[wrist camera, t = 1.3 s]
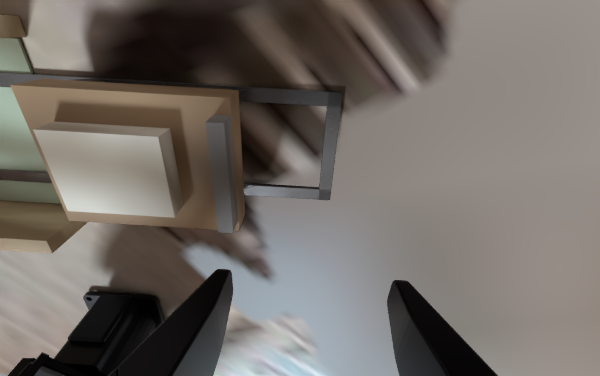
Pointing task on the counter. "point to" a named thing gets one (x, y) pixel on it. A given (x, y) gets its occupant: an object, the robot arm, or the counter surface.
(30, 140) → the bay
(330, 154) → the rails
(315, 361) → the counter surface
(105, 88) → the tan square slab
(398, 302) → the robot arm
